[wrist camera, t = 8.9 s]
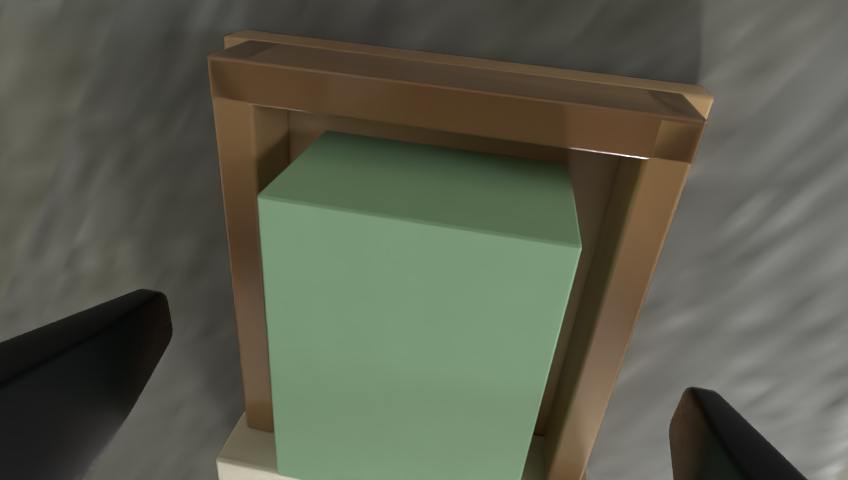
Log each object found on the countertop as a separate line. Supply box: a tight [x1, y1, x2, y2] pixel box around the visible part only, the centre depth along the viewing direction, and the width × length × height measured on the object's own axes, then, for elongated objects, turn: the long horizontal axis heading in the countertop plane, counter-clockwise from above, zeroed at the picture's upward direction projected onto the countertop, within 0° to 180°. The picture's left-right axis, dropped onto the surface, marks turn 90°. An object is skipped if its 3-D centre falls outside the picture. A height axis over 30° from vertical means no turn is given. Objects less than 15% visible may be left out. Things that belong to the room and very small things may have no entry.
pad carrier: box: [207, 30, 713, 480], centre depth 13 cm, size 16×8×3 cm, turn 175°
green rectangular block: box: [257, 131, 582, 480], centre depth 10 cm, size 6×4×3 cm
